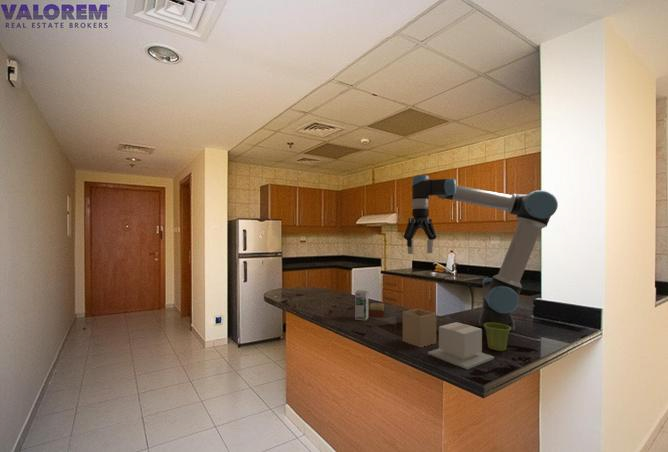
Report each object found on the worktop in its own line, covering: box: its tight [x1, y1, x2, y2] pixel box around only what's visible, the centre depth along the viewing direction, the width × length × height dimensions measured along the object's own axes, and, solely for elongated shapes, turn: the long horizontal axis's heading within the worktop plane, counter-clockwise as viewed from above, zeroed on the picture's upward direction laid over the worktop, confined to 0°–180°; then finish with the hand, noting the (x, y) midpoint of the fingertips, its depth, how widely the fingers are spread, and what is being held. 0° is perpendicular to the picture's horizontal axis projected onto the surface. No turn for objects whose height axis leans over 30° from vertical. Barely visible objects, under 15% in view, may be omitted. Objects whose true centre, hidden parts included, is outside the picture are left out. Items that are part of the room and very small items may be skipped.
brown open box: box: [402, 308, 437, 349], centre depth 131 cm, size 9×9×12 cm
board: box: [427, 348, 495, 370], centre depth 116 cm, size 16×16×1 cm
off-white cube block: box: [438, 321, 483, 360], centre depth 116 cm, size 10×10×10 cm
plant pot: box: [484, 323, 511, 352], centre depth 124 cm, size 9×9×9 cm
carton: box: [368, 302, 385, 318], centre depth 178 cm, size 8×16×4 cm, turn 171°
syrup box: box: [354, 289, 369, 322], centre depth 166 cm, size 6×6×14 cm
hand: (420, 253), depth 152 cm, fingers open, 13 cm apart
